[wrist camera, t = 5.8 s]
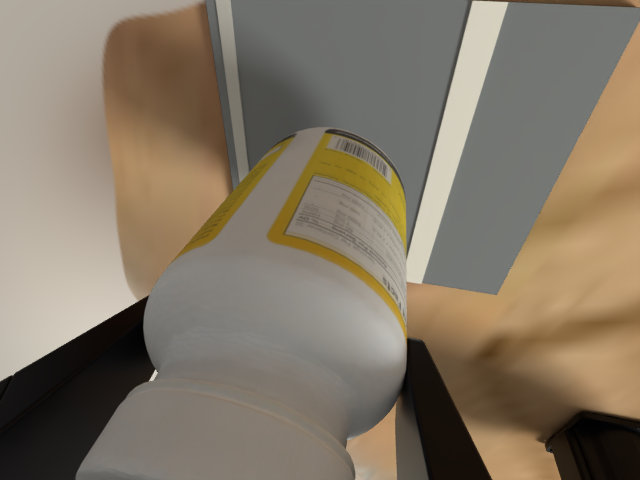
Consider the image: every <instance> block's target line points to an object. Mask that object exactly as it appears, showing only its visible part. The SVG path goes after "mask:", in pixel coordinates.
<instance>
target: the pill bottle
mask: <svg viewBox="0 0 640 480" xmlns="http://www.w3.org/2000/svg"><path fill="white" fill-rule="evenodd" d="M143 330H144V339H145V344H146V348H147V351H148V354H149V356H150V359H151V362H152V364H153V365H154V367H155V369H156V370H157V372H158V374H157V376H156V377H155V379H154V380H153V381H149V382H145V383H143V384H141V385H139V386H137V387H135V388H134V389H133V390H132V391H131V392H130V393H129V394H128V395H127V397H126V399H125V400H124V401H123V402H122V403H121V404H120V405H119V406H118V408H117V409H116V411H115V413H114V414H113V416H112V417H111V419H110V420H109V422H108V423H107V425H106V427H105V428H104V430H103V431H102V433H101V434H100V436H99V437H98V439H97V440H96V442H95V443H94V445H93V447H92V448H91V450H90V451H89V453H88V454H87V456H86V457H85V459H84V460H83V462H82V463H81V465H80V467H79V469H78V471H77V473H76V479H75V480H355V469H354V464H353V461H352V459H351V456H350V455H349V453H348V452H347V451H346V444H347V440H350V439H353V438H355V437H357V436H360V435H361V434H363V433H365V432H367V431H369V430H370V429H371V428H373V427H374V426H375V425H377V424H378V423H379V422H380V421H381V420H382V419H383V418H384V417H385V416H386V415H387V414H388V413H389V412H390V410H391V409H392V407H393V406H394V404H395V403H396V401H397V399H398V397H399V395H400V392H401V389H402V387H403V384H404V379H405V373H406V362H407V283H406V198H405V191H404V186H403V183H402V179H401V177H400V175H399V172H398V170H397V169H396V167H395V165H394V164H393V162H392V161H391V160H390V158H389V157H388V156H387V155H386V154H385V153H384V152H383V151H382V150H381V149H380V148H379V147H378V146H376V145H375V144H374V143H372V142H371V141H369V140H368V139H366V138H364V137H362V136H360V135H358V134H356V133H353V132H351V131H348V130H344V129H339V128H332V127H316V128H309V129H305V130H301V131H298V132H295V133H293V134H291V135H289V136H287V137H285V138H283V139H282V140H280V141H279V142H278V143H276V144H275V145H274V146H273V147H272V148H271V149H270V150H269V151H268V152H267V153H266V154H265V155H264V156H263V158H262V159H261V160H260V161H259V162H258V163H257V164H256V165H255V167H254V168H253V169H252V170H251V171H250V172H249V173H248V175H247V176H246V177H245V178H244V179H243V180H242V181H241V182H240V183H239V185H238V186H237V187H236V188H235V189H234V190H233V192H232V193H231V194H230V195H229V196H228V197H227V199H226V200H225V201H224V202H223V203H222V204H221V205H220V207H219V208H218V209H217V210H216V211H215V212H214V214H213V215H212V216H211V217H210V218H209V219H208V220H207V222H206V223H205V224H204V225H203V226H202V227H201V229H200V230H199V231H198V232H197V233H196V235H195V236H194V237H193V238H192V239H191V240H190V242H189V243H188V244H187V245H186V246H185V247H184V249H183V250H182V251H181V252H180V253H179V254H178V255H177V257H176V258H175V259H174V260H173V261H172V262H171V263H170V265H169V266H168V267H167V269H166V270H165V271H164V273H163V274H162V275H161V276H160V278H159V279H158V280H157V282H156V284H155V285H154V287H153V289H152V291H151V293H150V295H149V298H148V301H147V304H146V308H145V313H144V325H143Z"/></svg>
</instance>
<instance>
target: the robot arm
mask: <svg viewBox="0 0 640 480" xmlns="http://www.w3.org/2000/svg"><path fill="white" fill-rule="evenodd" d="M148 298H149V296H147V297H145V298H143V299H142V300H140V301H138V302H137V303H135V304H133V305H131V306H130V307H128V308H126V309H125V310H123V311H121V312H119V313H118V314H116V315H114V316H112V317H111V318H109V319H107V320H106V321H104V322H102V323H101V324H99V325H97V326H95V327H94V328H92V329H90V330H88V331H87V332H85V333H83V334H81V335H80V336H78V337H76V338H75V339H73V340H71V341H69V342H68V343H66V344H64V345H63V346H61V347H59V348H57V349H56V350H54V351H52V352H51V353H49V354H47V355H45V356H44V357H42V358H40V359H39V360H37V361H35V362H33V363H32V364H30V365H28V366H26V367H25V368H23V369H21V370H20V371H18V372H16V373H15V374H14V375H13V376H9V377H7V378H6V379H4V380H2V381H0V480H75V479H76V473H77V471H78V469H79V467H80V465H81V463H82V462H83V460H84V459H85V457H86V456H87V454H88V453H89V451H90V450H91V448H92V447H93V445H94V443H95V442H96V440H97V439H98V437H99V436H100V434H101V433H102V431H103V430H104V428H105V427H106V425H107V423H108V422H109V420H110V419H111V417H112V416H113V414H114V413H115V411H116V409H117V408H118V406H119V405H120V404H121V403H122V402H123V401H124V400H125V399H126V397H127V395H128V394H129V393H130V392H131V391H132V390H133V389H134V388H135V387H137V386H139V385H141V384H143V383H145V382H149V380H150V378H151V376H152V375H153V373H154V371H155V367H154V365H153V364H152V362H151V359H150V356H149V354H148V351H147V348H146V344H145V339H144V330H143V325H144V313H145V308H146V304H147V301H148ZM395 435H396V460H397V480H492V478H491V476H490V474H489V472H488V470H487V468H486V466H485V464H484V462H483V460H482V458H481V456H480V454H479V452H478V450H477V448H476V446H475V444H474V442H473V440H472V438H471V436H470V434H469V432H468V430H467V428H466V426H465V424H464V422H463V420H462V418H461V416H460V414H459V412H458V410H457V408H456V406H455V404H454V401H453V399H452V397H451V395H450V393H449V391H448V389H447V387H446V385H445V383H444V381H443V379H442V377H441V375H440V373H439V371H438V369H437V367H436V365H435V363H434V361H433V359H432V357H431V355H430V353H429V351H428V349H427V347H426V345H425V343H424V342H423V341H422V340H420V339H415V338H407V362H406V373H405V379H404V384H403V387H402V389H401V392H400V395H399V397H398V399H397V403H396V418H395ZM545 448H546V451H547V452H550V453H553V455H554V458H555V461H556V464H557V467H558V470H559V473H560V477H561V480H640V423H635V422H630V421H625V420H620V419H616V418H611V417H606V416H601V415H596V414H591V413H579V414H577V415H576V416H575V417H574V418H573V419H572V420H571V421H569V422H568V423H567V424H566V425H565V426H564V427H563V428H562V429H561V430H560V431H559V432H558V433H556V434H555V435H554V436H553V437H552V438H551V439H550V440H549V441H548V442H547V443H546V444H545Z"/></svg>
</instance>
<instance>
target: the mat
mask: <svg viewBox="0 0 640 480" xmlns="http://www.w3.org/2000/svg"><path fill="white" fill-rule="evenodd" d="M206 7H207V14H208V21H209V28H210V34H211V41H212V48H213V55H214V62H215V68H216V75H217V82H218V89H219V96H220V102H221V109H222V116H223V123H224V130H225V136H226V143H227V150H228V157H229V164H230V170H231V177H232V184H233V190H234V189H235V188H236V187H237V186H238V185H239V183H240V182H241V181H242V180H243V179H244V178H245V177H246V176H247V175H248V173H249V172H250V171H251V170H252V169H253V168H254V167H255V165H256V164H257V163H258V162H259V161H260V160H261V159H262V158H263V156H264V155H265V154H266V153H267V152H268V151H269V150H270V149H271V148H272V147H273V146H274V145H275V144H276V143H278V142H279V141H280V140H282V139H283V138H285V137H287V136H289V135H291V134H293V133H295V132H298V131H301V130H305V129H309V128H316V127H332V128H339V129H344V130H348V131H351V132H353V133H356V134H358V135H360V136H362V137H364V138H366V139H368V140H369V141H371V142H372V143H374V144H375V145H376V146H378V147H379V148H380V149H381V150H382V151H383V152H384V153H385V154H386V155H387V156H388V157H389V158H390V160H391V161H392V162H393V164H394V165H395V167H396V169H397V170H398V172H399V175H400V177H401V179H402V183H403V186H404V191H405V198H406V282H412V283H418V284H422V283H426V284H432V285H438V286H445V287H451V288H457V289H463V290H469V291H475V292H482V293H488V294H494V295H497V294H498V292H499V290H500V288H501V286H502V284H503V282H504V280H505V278H506V276H507V275H508V273H509V271H510V269H511V267H512V265H513V263H514V261H515V259H516V257H517V255H518V253H519V252H520V250H521V248H522V246H523V244H524V242H525V240H526V238H527V236H528V234H529V232H530V230H531V228H532V227H533V225H534V223H535V221H536V219H537V217H538V215H539V213H540V211H541V209H542V207H543V205H544V204H545V202H546V200H547V198H548V196H549V194H550V192H551V190H552V188H553V186H554V184H555V182H556V181H557V179H558V177H559V175H560V173H561V171H562V169H563V167H564V165H565V163H566V161H567V159H568V158H569V156H570V154H571V152H572V150H573V148H574V146H575V144H576V142H577V140H578V138H579V136H580V134H581V133H582V131H583V129H584V127H585V125H586V123H587V121H588V119H589V117H590V115H591V113H592V111H593V110H594V108H595V106H596V104H597V102H598V100H599V98H600V96H601V94H602V92H603V90H604V88H605V87H606V85H607V83H608V81H609V79H610V77H611V75H612V73H613V71H614V69H615V67H616V65H617V64H618V62H619V60H620V58H621V56H622V54H623V52H624V50H625V48H626V46H627V44H628V42H629V40H630V39H631V37H632V35H633V33H634V31H635V29H636V27H637V25H638V23H639V21H640V8H639V7H617V6H594V5H571V4H548V3H524V2H501V1H478V0H206Z"/></svg>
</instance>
